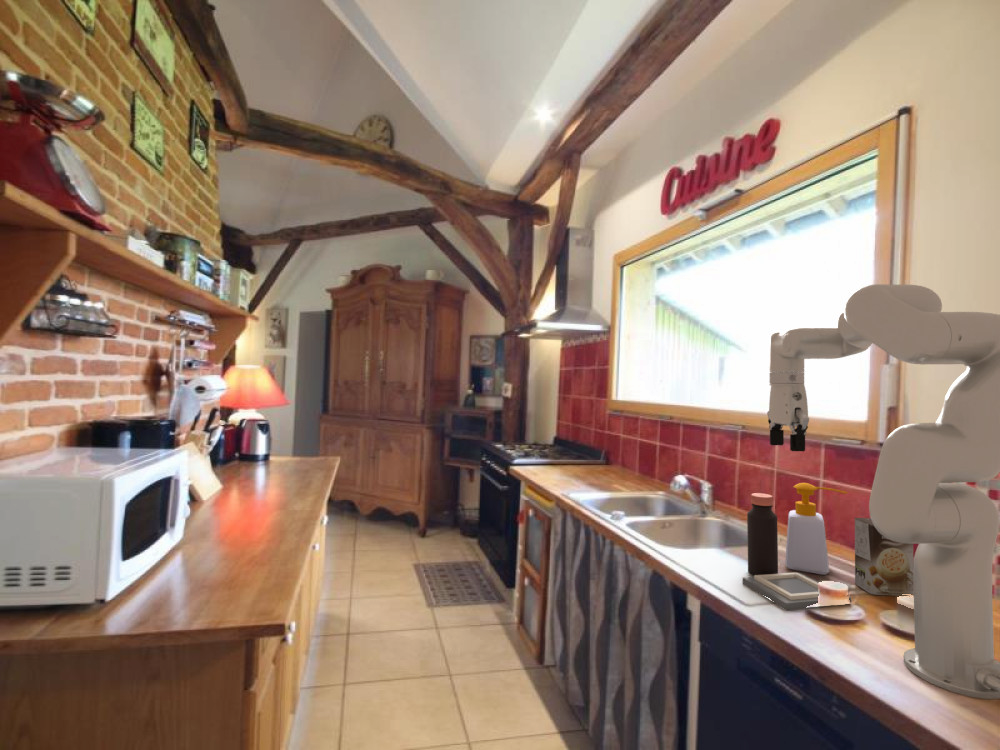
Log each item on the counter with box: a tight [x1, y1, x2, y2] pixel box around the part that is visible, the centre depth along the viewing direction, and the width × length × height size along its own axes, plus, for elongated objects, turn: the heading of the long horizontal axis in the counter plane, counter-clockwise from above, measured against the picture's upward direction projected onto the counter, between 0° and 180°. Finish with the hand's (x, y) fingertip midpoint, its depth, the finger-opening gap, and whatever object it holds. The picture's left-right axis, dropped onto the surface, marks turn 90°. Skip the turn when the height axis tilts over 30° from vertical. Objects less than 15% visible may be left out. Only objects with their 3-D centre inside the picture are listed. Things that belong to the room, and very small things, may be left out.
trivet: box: [742, 571, 852, 611], centre depth 110 cm, size 14×16×2 cm
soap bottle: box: [784, 482, 848, 575], centre depth 125 cm, size 10×14×22 cm
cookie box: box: [854, 517, 914, 597], centre depth 112 cm, size 9×6×16 cm
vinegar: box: [746, 492, 779, 576], centre depth 122 cm, size 7×7×20 cm
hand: (786, 447), depth 120 cm, fingers open, 9 cm apart
